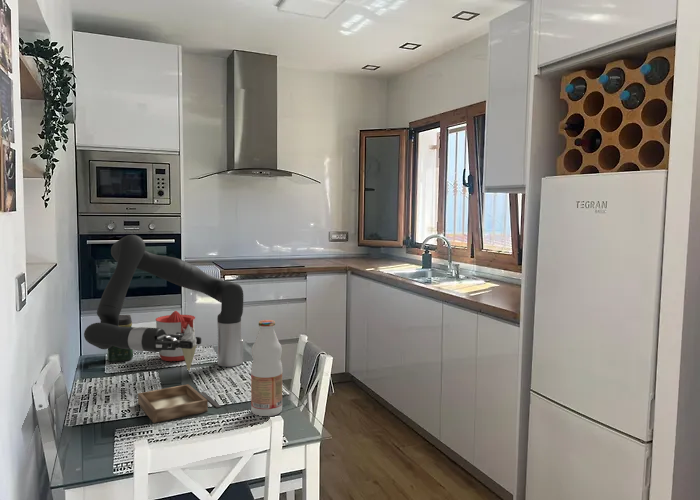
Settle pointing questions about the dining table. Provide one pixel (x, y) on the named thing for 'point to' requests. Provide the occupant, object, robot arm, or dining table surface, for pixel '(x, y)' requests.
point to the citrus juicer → (174, 332)
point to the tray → (174, 402)
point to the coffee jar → (118, 353)
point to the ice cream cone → (189, 352)
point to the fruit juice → (266, 372)
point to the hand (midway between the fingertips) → (196, 342)
